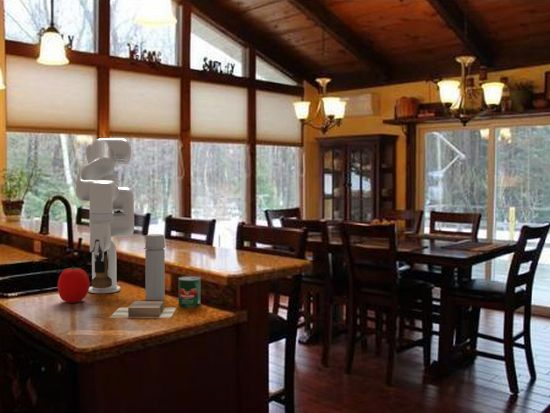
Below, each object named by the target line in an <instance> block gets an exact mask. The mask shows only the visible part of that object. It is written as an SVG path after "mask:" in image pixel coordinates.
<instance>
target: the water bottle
mask: <svg viewBox="0 0 550 413" xmlns="http://www.w3.org/2000/svg"><path fill="white" fill-rule="evenodd" d="M165 248H166V243H165V234H160V233H152V234H151V233H150V234H146V236H145V247H144V248H143V250H145V252H144V253H145V255H144V256H145V259H144V260H145V262H144V263H145V271H144V272H145V275H144V276H145V279H144V280H145V282H144V283H145V301H165V296H166V294H165V292H166V290H165V288H166V287H165V285H166V282H165V279H166V277H165V274H166V273H165V272H166V271H165V268H166V267H165V265H166V264H165V263H166V262H165V261H166V260H165V254H166V253H165V252H166V250H165Z"/></svg>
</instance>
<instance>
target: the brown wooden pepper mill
mask: <svg viewBox="0 0 550 413" xmlns="http://www.w3.org/2000/svg"><path fill="white" fill-rule="evenodd" d="M99 252H102V251H101V250H99ZM104 261H105V272H104V273H96V277H94V278H93V279H92V278H91V287H94V288H107V287H111V286H112V279H111V278H110V277H108V254H107V253H104Z"/></svg>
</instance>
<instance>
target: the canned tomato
mask: <svg viewBox="0 0 550 413" xmlns="http://www.w3.org/2000/svg"><path fill="white" fill-rule="evenodd" d="M201 278H202V277H201V276H197V275H195V276H194V275H185V276H180V277H178V303H177V304H178V306H179V307H180V308H187V309H188V308H197V307H200V306H201V299H202V298H201V293H202V292H201V288H202V287H201V286H202V285H201V282H202V281H201V280H202V279H201Z"/></svg>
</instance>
